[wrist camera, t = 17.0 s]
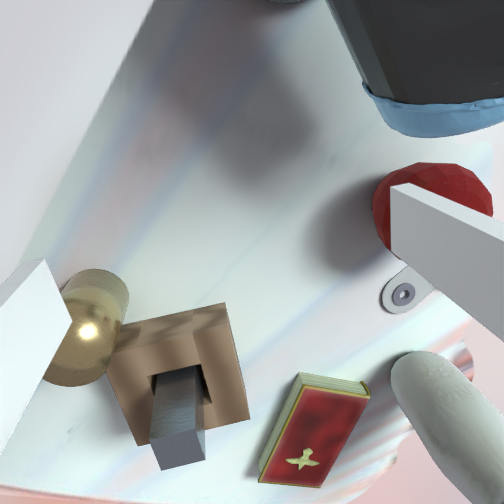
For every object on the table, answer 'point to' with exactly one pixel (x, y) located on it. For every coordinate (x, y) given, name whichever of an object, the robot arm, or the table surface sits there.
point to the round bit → (89, 327)
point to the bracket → (405, 281)
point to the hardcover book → (311, 430)
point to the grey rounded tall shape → (453, 424)
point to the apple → (436, 181)
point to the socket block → (178, 366)
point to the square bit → (178, 418)
